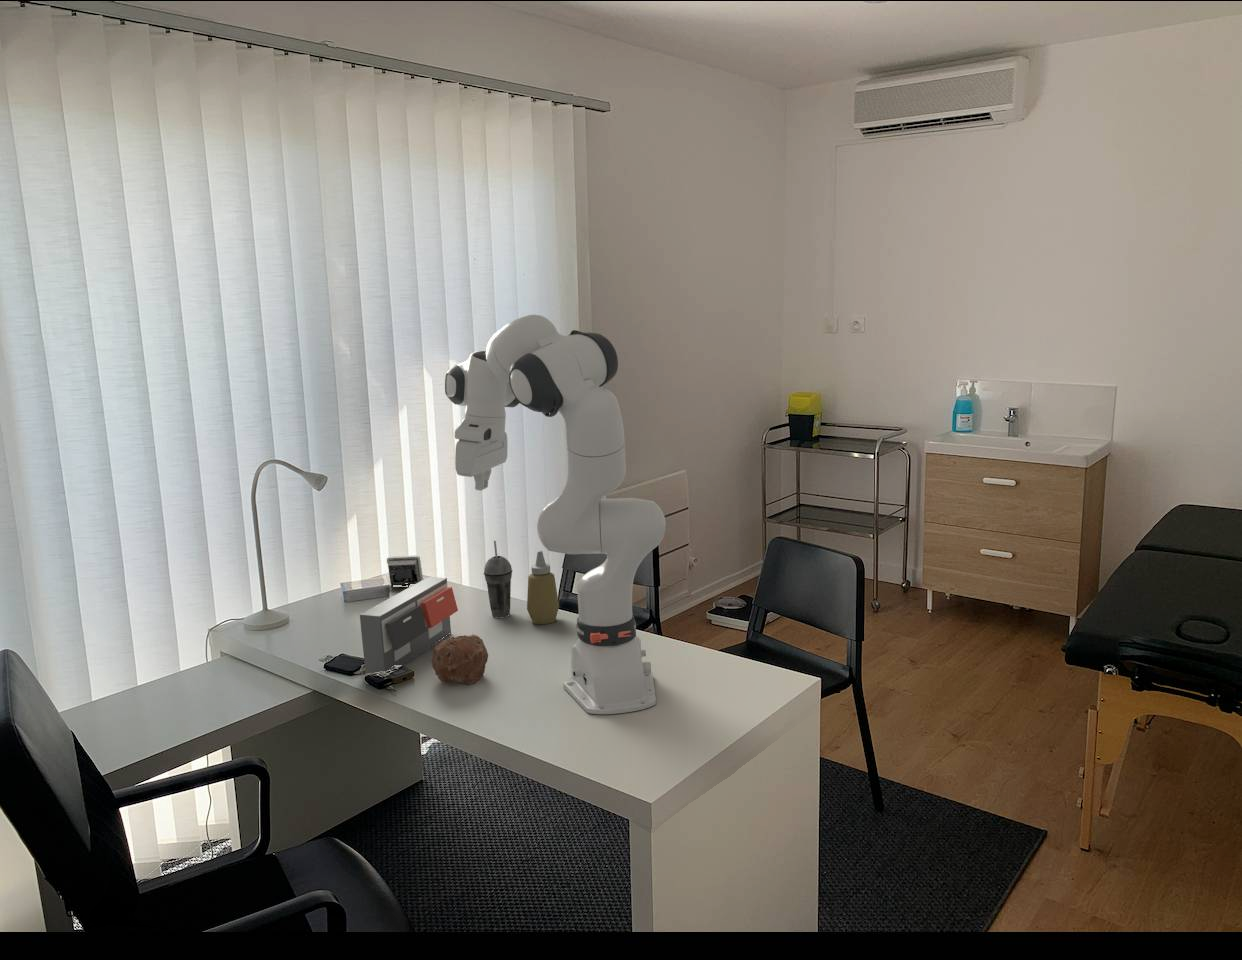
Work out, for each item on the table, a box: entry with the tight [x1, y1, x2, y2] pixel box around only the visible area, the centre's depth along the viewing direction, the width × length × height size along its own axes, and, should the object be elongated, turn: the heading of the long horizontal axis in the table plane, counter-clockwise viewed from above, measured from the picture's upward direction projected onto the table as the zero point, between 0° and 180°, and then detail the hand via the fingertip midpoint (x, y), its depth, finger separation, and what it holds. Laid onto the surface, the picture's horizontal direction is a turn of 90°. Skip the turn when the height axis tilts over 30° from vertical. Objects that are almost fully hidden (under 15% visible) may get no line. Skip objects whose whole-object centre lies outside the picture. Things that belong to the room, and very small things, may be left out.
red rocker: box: [421, 586, 459, 628], centre depth 217 cm, size 1×12×6 cm, turn 160°
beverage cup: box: [483, 540, 513, 619], centre depth 236 cm, size 7×7×20 cm
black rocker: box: [386, 606, 427, 650], centre depth 204 cm, size 1×12×6 cm, turn 160°
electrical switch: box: [386, 554, 424, 588], centre depth 264 cm, size 9×5×9 cm, turn 92°
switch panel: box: [359, 576, 452, 674], centre depth 212 cm, size 5×28×14 cm, turn 160°
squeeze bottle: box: [526, 550, 560, 625], centre depth 230 cm, size 8×8×18 cm
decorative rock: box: [430, 634, 489, 685], centre depth 197 cm, size 13×11×10 cm
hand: (481, 489), depth 205 cm, fingers closed
